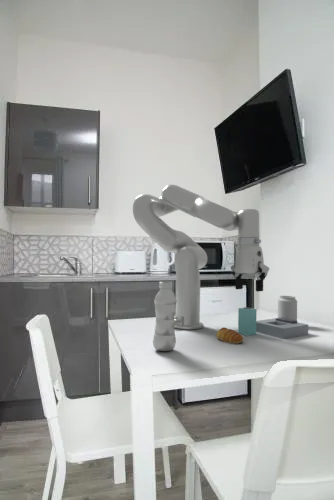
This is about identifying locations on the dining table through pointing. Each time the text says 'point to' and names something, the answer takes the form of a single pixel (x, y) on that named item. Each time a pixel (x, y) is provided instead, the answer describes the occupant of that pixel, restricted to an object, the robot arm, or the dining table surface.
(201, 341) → the dining table surface
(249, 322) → the block
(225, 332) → the pastry
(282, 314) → the can
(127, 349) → the dining table surface
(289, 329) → the grey recessed tray
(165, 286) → the plastic bottle
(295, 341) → the dining table surface
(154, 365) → the dining table surface
